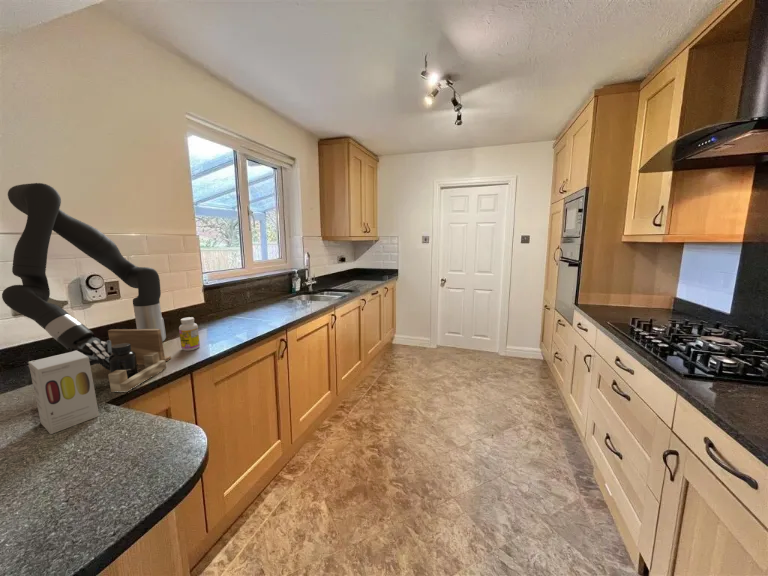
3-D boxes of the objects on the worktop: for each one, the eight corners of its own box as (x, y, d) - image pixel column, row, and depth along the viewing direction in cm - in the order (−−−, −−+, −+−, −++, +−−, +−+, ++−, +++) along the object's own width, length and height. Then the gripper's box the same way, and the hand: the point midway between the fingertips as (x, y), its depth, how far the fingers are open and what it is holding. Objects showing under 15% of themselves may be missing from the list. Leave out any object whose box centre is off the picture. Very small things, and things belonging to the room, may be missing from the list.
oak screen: (124, 359, 120) (118, 326, 117) (171, 358, 120) (166, 326, 117) (113, 364, 115) (107, 330, 112) (161, 364, 115) (156, 330, 112)
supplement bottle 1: (124, 386, 99) (118, 350, 97) (106, 384, 100) (100, 348, 98) (144, 376, 105) (139, 342, 103) (127, 374, 107) (122, 341, 104)
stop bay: (152, 368, 111) (149, 352, 110) (166, 368, 111) (163, 352, 110) (111, 392, 95) (108, 374, 94) (127, 392, 95) (124, 374, 94)
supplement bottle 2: (177, 349, 129) (173, 319, 126) (192, 344, 135) (189, 315, 132) (189, 352, 126) (185, 321, 124) (203, 346, 132) (200, 317, 130)
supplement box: (49, 435, 75) (34, 370, 72) (39, 423, 80) (25, 361, 77) (101, 415, 83) (89, 356, 80) (88, 405, 88) (77, 349, 85)
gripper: (55, 330, 93) (102, 369, 95) (95, 318, 106) (136, 352, 108) (40, 347, 94) (88, 385, 96) (82, 333, 107) (123, 366, 109)
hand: (113, 367), depth 102 cm, fingers closed
